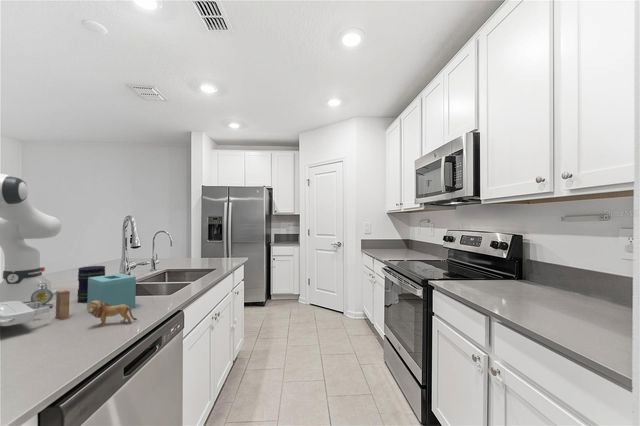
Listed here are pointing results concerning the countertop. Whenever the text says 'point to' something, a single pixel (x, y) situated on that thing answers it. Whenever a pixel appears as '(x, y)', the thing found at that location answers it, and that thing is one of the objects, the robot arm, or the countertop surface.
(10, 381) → the countertop surface
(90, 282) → the money box
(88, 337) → the countertop surface
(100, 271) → the storage jar
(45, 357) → the countertop surface
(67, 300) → the block
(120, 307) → the lion figurine
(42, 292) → the pocket watch
